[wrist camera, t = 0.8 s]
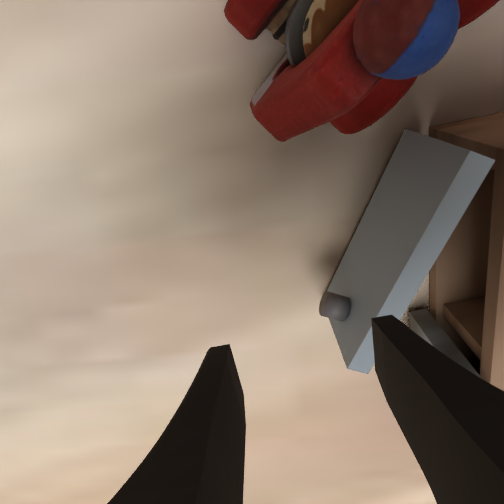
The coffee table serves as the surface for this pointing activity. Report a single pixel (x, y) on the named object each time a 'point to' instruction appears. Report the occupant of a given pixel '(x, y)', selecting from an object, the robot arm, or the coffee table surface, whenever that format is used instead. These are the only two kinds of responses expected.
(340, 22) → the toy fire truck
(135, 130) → the coffee table surface
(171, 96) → the coffee table surface
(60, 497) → the coffee table surface
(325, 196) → the coffee table surface
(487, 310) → the cabinet
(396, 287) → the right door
